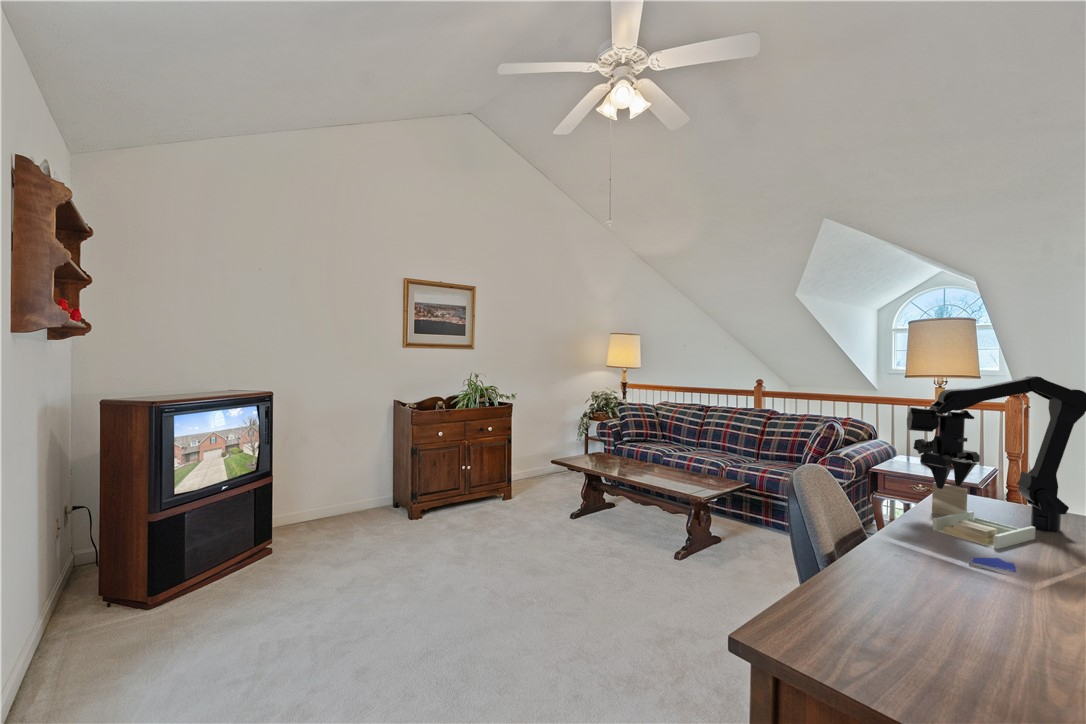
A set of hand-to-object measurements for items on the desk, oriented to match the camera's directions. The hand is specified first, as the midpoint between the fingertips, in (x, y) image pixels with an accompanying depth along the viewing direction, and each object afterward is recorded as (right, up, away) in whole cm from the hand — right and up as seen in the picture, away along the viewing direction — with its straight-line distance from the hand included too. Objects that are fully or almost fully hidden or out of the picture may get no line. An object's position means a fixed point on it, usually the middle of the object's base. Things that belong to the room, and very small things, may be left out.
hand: (949, 487), depth 146 cm
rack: (-3, -10, -14) cm, 18 cm away
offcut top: (-7, -7, -17) cm, 20 cm away
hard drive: (-15, -11, -31) cm, 36 cm away
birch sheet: (0, -10, 0) cm, 10 cm away
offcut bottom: (-8, -9, -17) cm, 20 cm away
